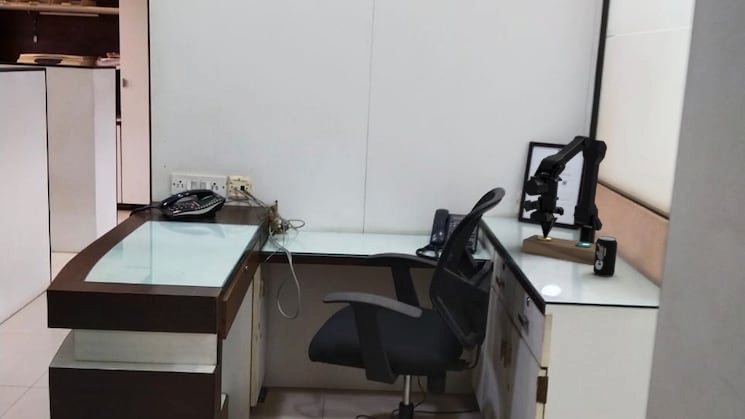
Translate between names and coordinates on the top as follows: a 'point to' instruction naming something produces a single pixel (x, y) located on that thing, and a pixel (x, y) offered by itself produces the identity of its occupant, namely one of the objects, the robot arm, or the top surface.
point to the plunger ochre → (545, 238)
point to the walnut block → (559, 249)
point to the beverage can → (605, 256)
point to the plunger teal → (583, 244)
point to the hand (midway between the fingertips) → (545, 237)
